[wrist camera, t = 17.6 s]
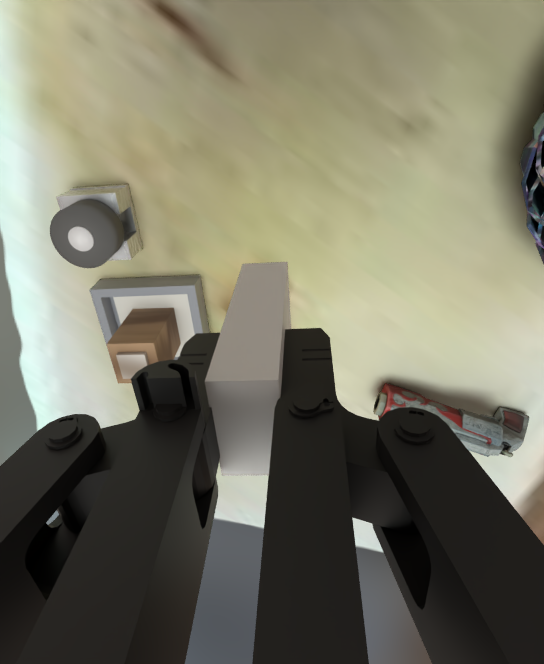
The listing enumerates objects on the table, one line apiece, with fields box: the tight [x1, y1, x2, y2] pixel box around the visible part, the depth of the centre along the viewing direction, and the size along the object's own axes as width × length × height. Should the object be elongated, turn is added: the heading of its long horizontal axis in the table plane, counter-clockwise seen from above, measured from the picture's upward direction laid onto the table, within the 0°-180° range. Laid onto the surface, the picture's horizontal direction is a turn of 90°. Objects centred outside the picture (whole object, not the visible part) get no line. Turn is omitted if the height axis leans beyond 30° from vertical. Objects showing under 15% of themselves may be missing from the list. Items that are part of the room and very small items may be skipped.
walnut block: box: [107, 308, 181, 383], centre depth 49 cm, size 5×5×9 cm
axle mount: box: [56, 184, 143, 261], centre depth 45 cm, size 7×6×4 cm
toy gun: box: [373, 383, 529, 457], centre depth 54 cm, size 4×20×10 cm, turn 78°
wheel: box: [50, 199, 124, 268], centre depth 44 cm, size 6×6×6 cm
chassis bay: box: [90, 275, 210, 368], centre depth 52 cm, size 12×12×3 cm
